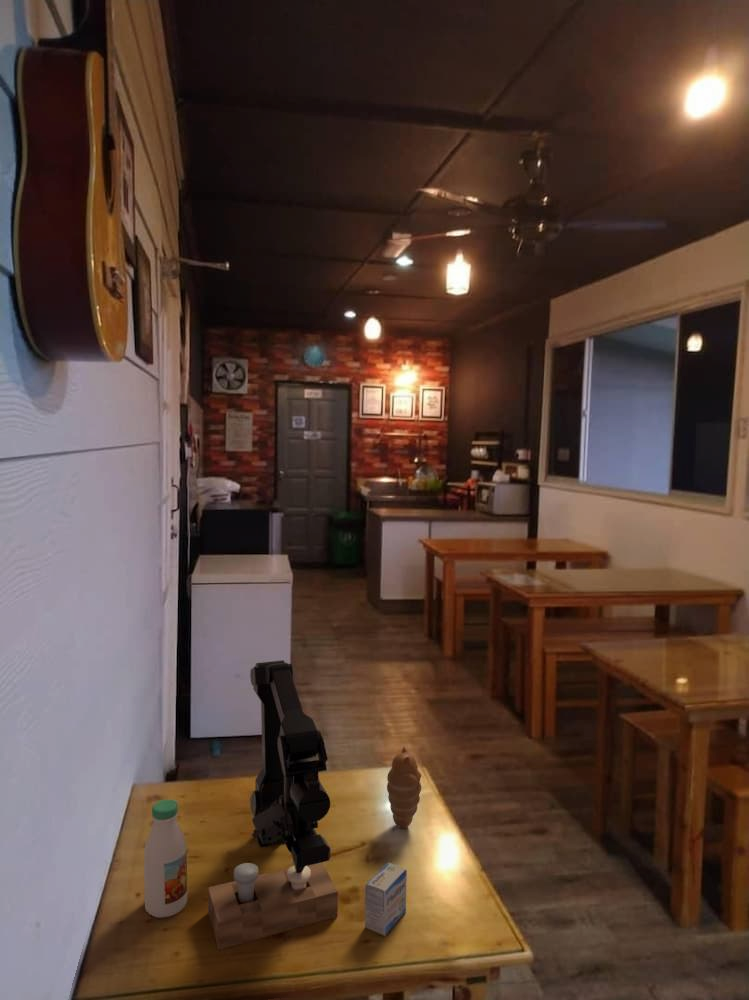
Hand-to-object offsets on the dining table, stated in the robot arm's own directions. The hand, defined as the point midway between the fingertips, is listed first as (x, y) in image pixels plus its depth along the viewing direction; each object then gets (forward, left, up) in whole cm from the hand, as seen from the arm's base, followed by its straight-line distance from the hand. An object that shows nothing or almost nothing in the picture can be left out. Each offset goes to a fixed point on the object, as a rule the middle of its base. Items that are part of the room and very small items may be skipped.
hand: (298, 871), depth 130 cm
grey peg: (0, -10, -3) cm, 10 cm away
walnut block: (0, -5, -7) cm, 9 cm away
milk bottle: (-10, -23, -8) cm, 26 cm away
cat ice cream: (-17, +30, -7) cm, 35 cm away
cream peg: (0, 0, -5) cm, 5 cm away
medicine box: (+9, +14, -8) cm, 18 cm away
